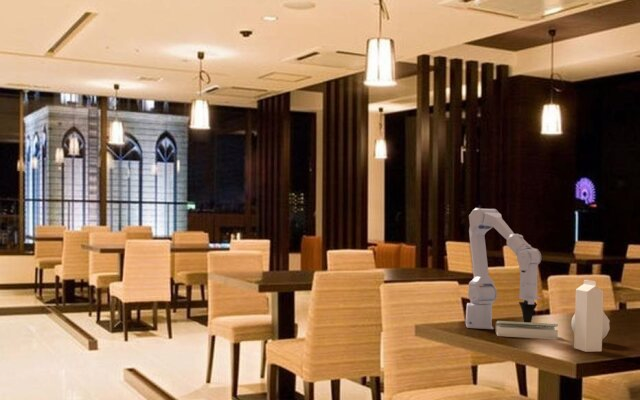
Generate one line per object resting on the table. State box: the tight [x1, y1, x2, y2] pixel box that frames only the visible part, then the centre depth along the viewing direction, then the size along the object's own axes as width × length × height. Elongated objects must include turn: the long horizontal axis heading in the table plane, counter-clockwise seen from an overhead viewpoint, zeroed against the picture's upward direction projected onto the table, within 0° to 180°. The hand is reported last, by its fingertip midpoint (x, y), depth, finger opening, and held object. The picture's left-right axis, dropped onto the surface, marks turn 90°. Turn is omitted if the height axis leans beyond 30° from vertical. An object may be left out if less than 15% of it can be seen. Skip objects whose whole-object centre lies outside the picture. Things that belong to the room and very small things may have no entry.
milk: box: [573, 279, 604, 353], centre depth 230 cm, size 6×6×22 cm
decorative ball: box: [570, 310, 611, 340], centre depth 244 cm, size 12×12×12 cm
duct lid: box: [495, 320, 559, 328], centre depth 253 cm, size 20×7×1 cm, turn 82°
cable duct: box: [495, 323, 559, 340], centre depth 252 cm, size 20×7×3 cm, turn 82°
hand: (527, 323), depth 251 cm, fingers closed, pressing on duct lid
